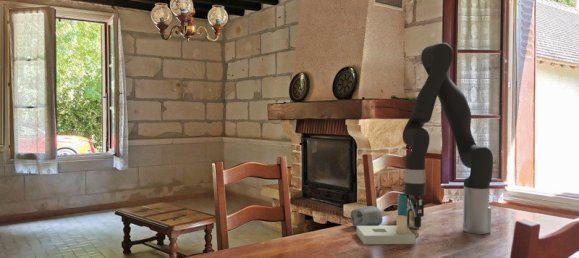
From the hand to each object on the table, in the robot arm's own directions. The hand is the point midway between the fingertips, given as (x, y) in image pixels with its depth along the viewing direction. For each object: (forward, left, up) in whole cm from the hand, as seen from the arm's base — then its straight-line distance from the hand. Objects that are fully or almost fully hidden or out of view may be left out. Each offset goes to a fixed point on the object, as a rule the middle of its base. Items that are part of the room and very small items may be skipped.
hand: (413, 224), depth 173 cm
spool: (+15, -14, -5) cm, 21 cm away
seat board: (+12, +4, -4) cm, 13 cm away
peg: (0, 0, -4) cm, 4 cm away
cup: (-6, -24, -4) cm, 25 cm away
